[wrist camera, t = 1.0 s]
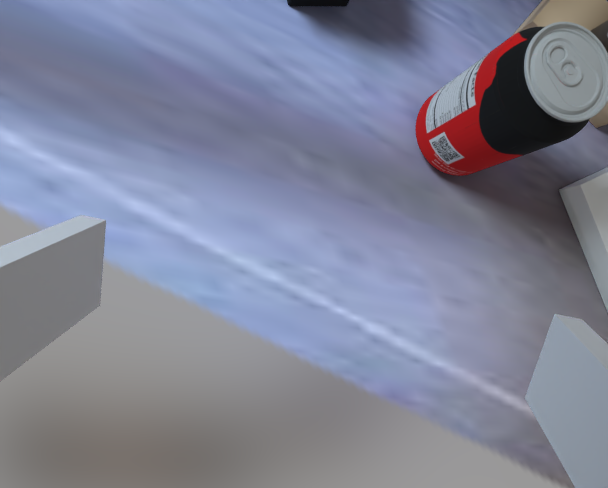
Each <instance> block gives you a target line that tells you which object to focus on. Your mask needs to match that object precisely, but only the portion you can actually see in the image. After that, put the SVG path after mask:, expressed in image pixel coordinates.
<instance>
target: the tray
mask: <svg viewBox="0 0 608 488" xmlns="http://www.w3.org/2000/svg"><path fill="white" fill-rule="evenodd" d="M559 193H560V195H561V198H562V200H563V203H564V205H565V207H566V210H567V212H568V215H569V217H570V220H571V222H572V225H573V227H574V230H575V232H576V235H577V237H578V240H579V242H580V245H581V247H582V250H583V252H584V255H585V257H586V260H587V262H588V265H589V267H590V270H591V272H592V275H593V277H594V280H595V282H596V285H597V287H598V290H599V292H600V295H601V297H602V300H603V302H604V304H605V307H606V309H607V312H608V167H607V168H604V169H602V170H600V171H598V172H596V173H594V174H591V175H589V176H587V177H585V178H583V179H581V180H579V181H576V182H574V183H572V184H570V185H568V186H566V187H563V188H561V189H559Z"/></svg>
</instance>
